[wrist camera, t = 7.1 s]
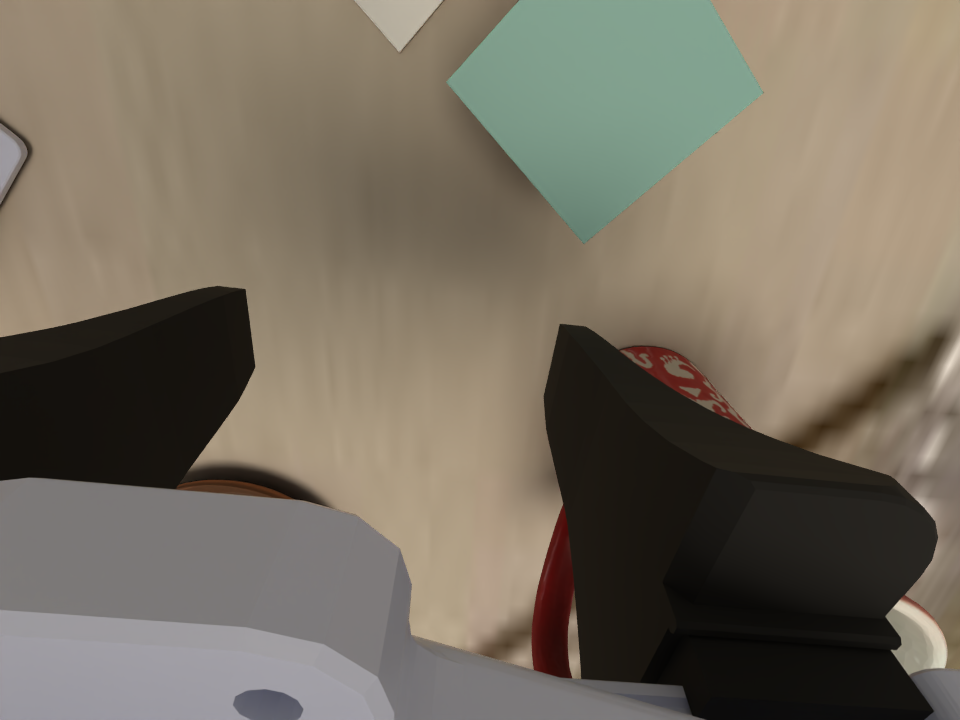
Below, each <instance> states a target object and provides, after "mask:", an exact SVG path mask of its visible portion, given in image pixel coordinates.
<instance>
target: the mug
mask: <svg viewBox="0 0 960 720" xmlns="http://www.w3.org/2000/svg"><path fill="white" fill-rule="evenodd" d="M619 351H620V352H621V353H623V354H624V355H625V356H626V357H628V358H629V359H630V360H632V361H633V362H634V363H636V364H637V365H638V366H640V367H641V368H643V369H644V370H645V371H647V372H648V373H650V374H651V375H652V376H654V377H655V378H657V379H658V380H660V381H661V382H663V383H664V384H666V385H667V386H669V387H670V388H672V389H674V390H675V391H677V392H679V393H680V394H682V395H684V396H686V397H687V398H689V399H691V400H693V401H695V402H696V403H698V404H700V405H702V406H704V407H705V408H707V409H709V410H711V411H713V412H715V413H717V414H719V415H721V416H723V417H725V418H728V419H730V420H732V421H734V422H736V423H739V424H741V425H743V426H745V427H747V428H750V429H751V427H750V426H749V425H748V424H747V423H746V422H745V421H744V420H743V419H742V418H741V417H740V416H739V415H738V413H737V412H736V411H735V410H734V409H733V408H732V407H731V406H730V405H729V404H728V402H727V401H726V400H725V399H724V398H723V397H722V396H721V395H720V394H719V393H718V391H717V390H716V389H715V388H714V387H713V386H712V384H711V383H710V382H709V381H708V380H707V378H706V377H705V376H704V375H703V374H702V373H701V372H700V371H699V370H698V369H697V368H696V367H695V366H694V365H693V364H692V363H691V362H690V361H688V360H687V359H686V358H684V357H683V356H681V355H679V354H677V353H675V352H673V351H670V350H667V349H664V348H658V347H643V346H640V347H631V348H627V349H623V350H619ZM573 594H574V579H573V569H572V559H571V551H570V542H569V534H568V525H567V519H566V514H565V509H564V504H563V506H562V509H561V511H560V514H559V517H558V520H557V522H556V526H555V529H554V532H553V535H552V538H551V542H550V545H549V548H548V552H547V555H546V558H545V562H544V566H543V570H542V573H541V577H540V581H539V585H538V590H537V595H536V601H535V607H534V615H533V623H532V658H533V666H534V670H535V671H538V672H542V673H545V674H549V675H552V676H556V677H559V678H572V676H571V672H570V668H569V659H568V625H569V616H570V611H571V605H572V600H573ZM885 617H886V618H887V620H888V621H889V622H890V624H891V625H892V626H893V628H894V629H895V630H896V632H897V633H898V634H899V636H900V637H901V643H902V645H901V646H900V647H899V648H898V649H897V650H891V651H892V653H893V654H894V655H895V657H896V658H897V660H898V661H899V662H900V664H901V665H902V667H903V668H904V669H905V671H906V672H907V674H908V675H910V674H911V673H914V672H917V671H920V670H924V669H932V668H945V665H946V661H947V644H946V640H945V637H944V635H943V632H942V630H941V629H940V627H939V625H938V624H937V622H936V621H935V619H934V618H933V617H932V616H931V615H930V614H929V613H928V612H927V611H926V610H925V609H924V608H923V607H921V606H920V605H919V604H917V603H916V602H914V601H913V600H911V599H910V598H908V597H907V596H905V595H904V596H903V597H902V598H901V599H900V600H899V601H898V603H897V604H896V605H895V606H894V607H893V608H892V609H891V610H890V612H889V613H888V614H887V615H886V616H885Z"/></svg>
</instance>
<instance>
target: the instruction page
mask: <svg viewBox="0 0 960 720" xmlns="http://www.w3.org/2000/svg"><path fill="white" fill-rule="evenodd" d="M354 1H355V2H356V3H357V4H358V5H359V6H360V8H361V9H362V10H363V11H364V12H365V13H366V14H367V16H368V17H369V18H370V19H371V20H372V21H373V23H374V24H375V25H376V26H377V27H378V28H379V30H380V31H381V32H382V33H383V34H384V35H385V36H386V38H387V39H388V40H389V41H390V42H391V43H392V45H393V46H394V47H395V48H396V49H397V50H398V52H399V53H400V52H401V51H402V50H403V49H404V48H405V46H406V45H407V44H408V43H409V42H410V40H411V39H412V38H413V37H414V36H415V34H416V33H417V32H418V31H419V30H420V29H421V27H422V26H423V25H424V24H425V23H426V21H427V20H428V19H429V18H430V17H431V15H432V14H433V13H434V12H435V11H436V9H437V8H438V7H439V6H440V5H441V3H442V2H443V1H444V0H354Z"/></svg>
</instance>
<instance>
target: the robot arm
mask: <svg viewBox="0 0 960 720" xmlns="http://www.w3.org/2000/svg"><path fill="white" fill-rule="evenodd" d="M27 153H28V152H27V148H26V146H25V144H24V142H23V141H22V140H21V139H20V138H19V137H17V136H16V135H15V134H14V133H12V132H11V131H10V130H9V129H7V128H6V127H5V126H3V125H2V124H1V123H0V204H1V202H2V200H3V199H4V197H5V195H6V193H7V191H8V190H9V188H10V186H11V184H12V183H13V181H14V179H15V177H16V175H17V174H18V172H19V170H20V168H21V166H22V165H23V163H24V161H25V159H26V158H27ZM254 369H255V361H254V353H253V345H252V337H251V329H250V321H249V313H248V305H247V298H246V290H245V289H239V288H230V287H221V286H215V287H207V288H202V289H197V290H193V291H189V292H186V293H182V294H178V295H175V296H171V297H168V298H164V299H161V300H157V301H154V302H150V303H147V304H144V305H140V306H137V307H133V308H130V309H126V310H122V311H118V312H115V313H111V314H107V315H103V316H99V317H95V318H92V319H88V320H84V321H80V322H76V323H72V324H67V325H63V326H58V327H54V328H49V329H44V330H39V331H33V332H28V333H23V334H17V335H12V336H6V337H0V720H960V670H959V669H945V668H932V669H924V670H920V671H917V672H914V673H911V674H910V675H908V674H907V672H906V671H905V669H904V668H903V667H902V665H901V664H900V662H899V661H898V660H897V658H896V657H895V655H894V654H893V653H892V651H891V650H897V649H898V648H899V647H900V646H901V645H902V643H901V637H900V636H899V634H898V633H897V632H896V630H895V629H894V628H893V626H892V625H891V624H890V622H889V621H888V620H887V618H886V617H885V616H886V615H887V614H888V613H889V612H890V610H891V609H892V608H893V607H894V606H895V605H896V604H897V603H898V601H899V600H900V599H901V598H902V597H903V596H904V595H905V594H906V592H907V591H908V590H909V589H910V588H911V587H912V586H913V585H914V583H915V582H916V581H917V580H918V579H919V578H920V577H921V575H922V574H923V572H924V571H925V569H926V568H927V567H928V565H929V564H930V562H931V561H932V558H933V555H934V551H935V547H936V544H937V540H938V535H937V529H936V524H935V521H934V520H933V518H932V517H931V516H930V515H929V513H928V512H927V511H926V510H925V508H924V507H923V506H922V505H921V504H920V503H919V502H918V501H917V500H915V499H914V498H913V497H912V496H911V495H910V494H909V493H908V492H907V491H906V490H905V489H904V488H903V487H902V486H901V485H900V484H899V483H898V482H897V481H896V480H895V479H894V478H892V477H891V476H889V475H886V474H882V473H879V472H876V471H872V470H869V469H866V468H862V467H859V466H855V465H852V464H849V463H845V462H842V461H838V460H835V459H832V458H828V457H825V456H822V455H818V454H816V453H813V452H810V451H807V450H804V449H801V448H799V447H796V446H793V445H790V444H788V443H785V442H782V441H779V440H777V439H774V438H772V437H769V436H767V435H764V434H762V433H759V432H757V431H754V430H752V429H750V428H747V427H745V426H743V425H741V424H739V423H736V422H734V421H732V420H730V419H728V418H725V417H723V416H721V415H719V414H717V413H715V412H713V411H711V410H709V409H707V408H705V407H704V406H702V405H700V404H698V403H696V402H695V401H693V400H691V399H689V398H687V397H686V396H684V395H682V394H680V393H679V392H677V391H675V390H674V389H672V388H670V387H669V386H667V385H666V384H664V383H663V382H661V381H660V380H658V379H657V378H655V377H654V376H652V375H651V374H650V373H648V372H647V371H645V370H644V369H643V368H641V367H640V366H638V365H637V364H636V363H634V362H633V361H632V360H630V359H629V358H628V357H626V356H625V355H624V354H623V353H621V352H620V351H619V350H617V349H616V348H615V347H614V346H612V345H611V344H610V343H608V342H607V341H606V340H605V339H603V338H602V337H601V336H599V335H598V334H597V333H595V332H594V331H592V330H591V329H589V328H587V327H584V326H575V325H566V324H560V326H559V331H558V335H557V340H556V344H555V348H554V353H553V357H552V362H551V366H550V371H549V375H548V380H547V384H546V389H545V393H544V407H545V420H546V430H547V435H548V440H549V444H550V449H551V453H552V457H553V462H554V466H555V470H556V474H557V478H558V483H559V487H560V491H561V495H562V500H563V504H564V509H565V514H566V519H567V525H568V534H569V542H570V551H571V559H572V569H573V579H574V590H575V600H576V611H577V624H578V637H579V650H580V664H581V679H572V678H559V677H556V676H552V675H549V674H545V673H542V672H538V671H535V670H531V669H528V668H525V667H521V666H518V665H514V664H511V663H507V662H504V661H500V660H497V659H493V658H490V657H486V656H483V655H479V654H476V653H472V652H469V651H466V650H462V649H459V648H455V647H452V646H448V645H445V644H441V643H438V642H434V641H431V640H427V639H424V638H420V637H417V636H414V635H411V631H410V624H409V613H410V601H411V588H412V584H411V581H410V578H409V575H408V572H407V569H406V566H405V563H404V560H403V557H402V554H401V551H400V548H398V547H397V546H396V545H394V544H393V543H392V542H391V541H389V540H388V539H387V538H385V537H384V536H383V535H382V534H380V533H379V532H378V531H376V530H375V529H374V528H372V527H371V526H370V525H369V524H367V523H366V522H365V521H363V520H362V519H361V518H360V517H358V516H357V515H355V514H352V513H348V512H344V511H341V510H337V509H333V508H329V507H326V506H322V505H318V504H315V503H311V502H307V501H303V500H291V499H280V498H268V497H257V496H245V495H233V494H222V493H210V492H198V491H187V490H175V489H176V488H177V486H178V485H179V483H180V482H181V480H182V479H183V477H184V476H185V474H186V473H187V471H188V470H189V469H190V467H191V466H192V465H193V463H194V462H195V461H196V459H197V458H198V456H199V455H200V454H201V452H202V451H203V450H204V448H205V447H206V445H207V444H208V443H209V441H210V440H211V439H212V437H213V436H214V435H215V433H216V432H217V430H218V429H219V428H220V426H221V425H222V424H223V422H224V421H225V419H226V418H227V417H228V415H229V414H230V412H231V411H232V410H233V408H234V407H235V405H236V404H237V402H238V401H239V399H240V397H241V395H242V393H243V391H244V390H245V388H246V386H247V384H248V381H249V379H250V377H251V375H252V373H253V371H254Z"/></svg>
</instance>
